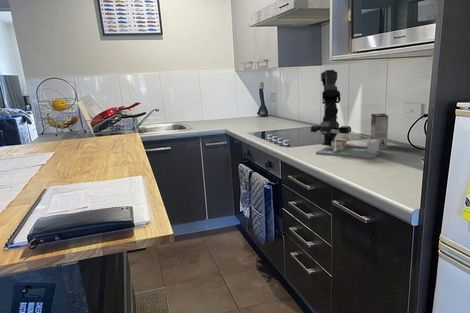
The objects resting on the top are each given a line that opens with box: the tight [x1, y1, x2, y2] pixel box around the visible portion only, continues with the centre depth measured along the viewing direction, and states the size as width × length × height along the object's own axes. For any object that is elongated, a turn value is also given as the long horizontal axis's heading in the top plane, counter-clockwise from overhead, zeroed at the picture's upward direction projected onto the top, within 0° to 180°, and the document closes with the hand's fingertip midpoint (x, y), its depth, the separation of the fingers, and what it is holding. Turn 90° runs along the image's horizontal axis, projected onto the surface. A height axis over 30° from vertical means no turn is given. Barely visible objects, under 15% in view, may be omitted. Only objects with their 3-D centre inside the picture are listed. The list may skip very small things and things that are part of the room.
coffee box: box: [370, 112, 389, 150], centre depth 164 cm, size 9×6×16 cm
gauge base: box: [315, 139, 382, 160], centre depth 157 cm, size 15×26×6 cm, turn 53°
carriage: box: [331, 138, 348, 151], centre depth 160 cm, size 12×5×4 cm, turn 143°
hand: (330, 146), depth 164 cm, fingers closed
